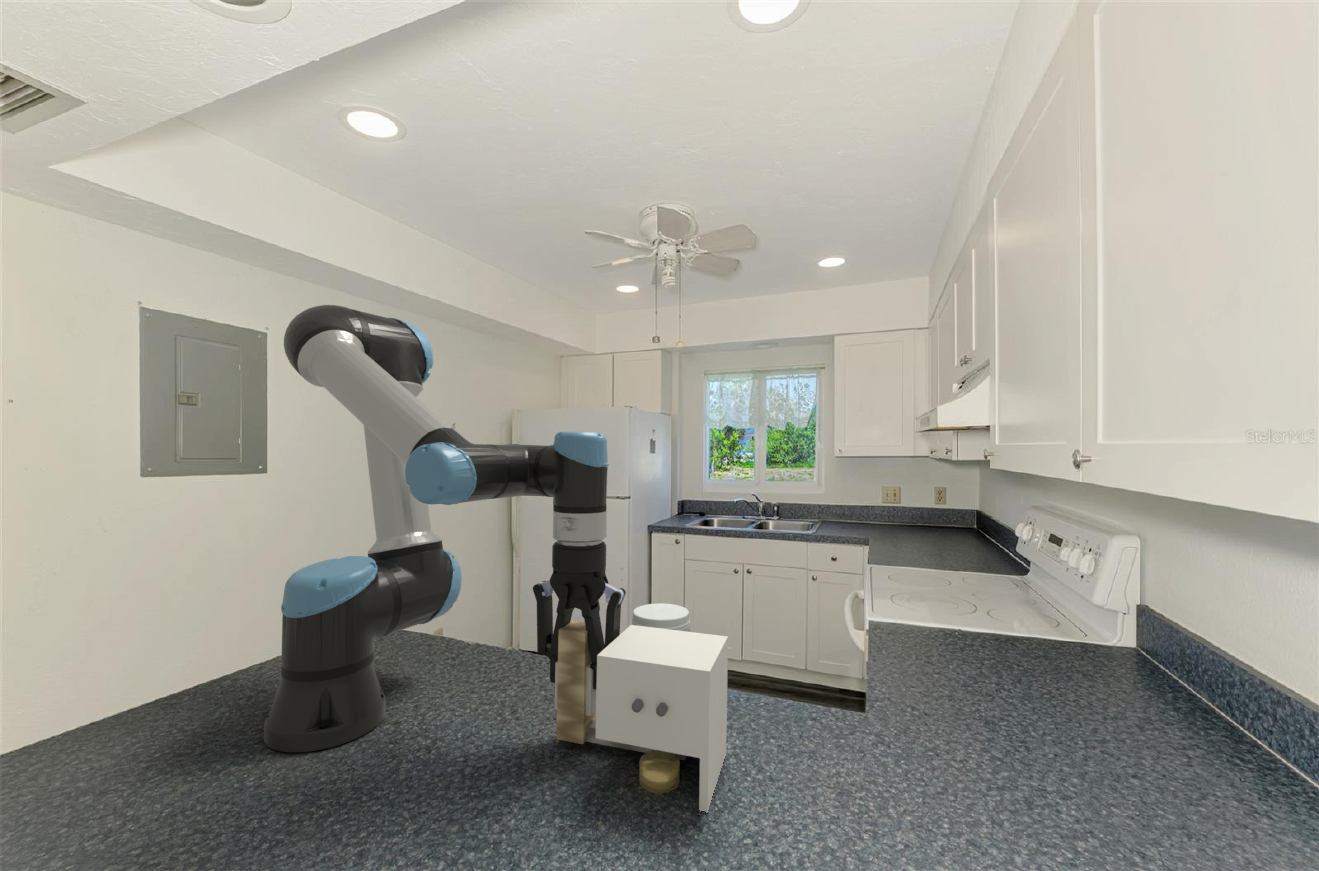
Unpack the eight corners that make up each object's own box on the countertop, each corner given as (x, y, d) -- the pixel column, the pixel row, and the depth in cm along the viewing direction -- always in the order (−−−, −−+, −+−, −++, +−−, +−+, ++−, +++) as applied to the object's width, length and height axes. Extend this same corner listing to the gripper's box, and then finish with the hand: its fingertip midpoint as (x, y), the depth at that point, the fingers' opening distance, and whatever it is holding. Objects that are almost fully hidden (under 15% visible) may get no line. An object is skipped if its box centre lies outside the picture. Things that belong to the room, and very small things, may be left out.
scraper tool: (556, 739, 74) (558, 629, 75) (569, 724, 78) (571, 620, 79) (683, 763, 69) (684, 645, 69) (690, 747, 73) (692, 635, 73)
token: (633, 789, 66) (633, 768, 66) (646, 766, 71) (647, 747, 71) (672, 798, 64) (673, 776, 64) (683, 774, 69) (684, 754, 69)
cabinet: (591, 792, 65) (594, 658, 65) (628, 737, 77) (630, 624, 77) (705, 817, 61) (708, 674, 61) (726, 755, 73) (727, 636, 73)
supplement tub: (701, 706, 87) (702, 614, 87) (651, 721, 82) (653, 624, 82) (667, 683, 95) (668, 599, 95) (620, 696, 90) (621, 607, 90)
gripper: (511, 541, 75) (508, 711, 75) (627, 549, 70) (624, 732, 70) (539, 533, 82) (536, 688, 82) (645, 540, 77) (643, 705, 77)
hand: (576, 707), depth 76 cm, fingers closed on scraper tool, 4 cm apart
